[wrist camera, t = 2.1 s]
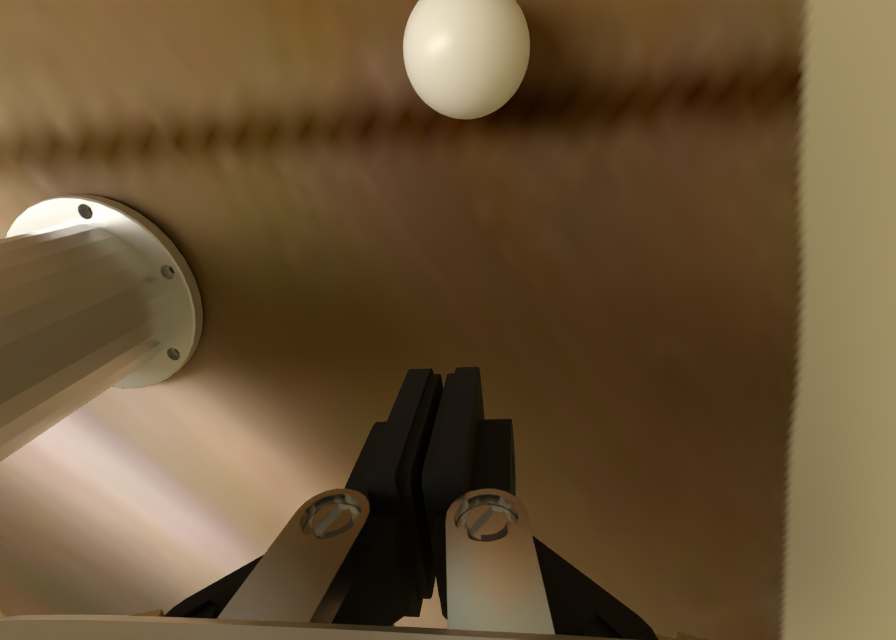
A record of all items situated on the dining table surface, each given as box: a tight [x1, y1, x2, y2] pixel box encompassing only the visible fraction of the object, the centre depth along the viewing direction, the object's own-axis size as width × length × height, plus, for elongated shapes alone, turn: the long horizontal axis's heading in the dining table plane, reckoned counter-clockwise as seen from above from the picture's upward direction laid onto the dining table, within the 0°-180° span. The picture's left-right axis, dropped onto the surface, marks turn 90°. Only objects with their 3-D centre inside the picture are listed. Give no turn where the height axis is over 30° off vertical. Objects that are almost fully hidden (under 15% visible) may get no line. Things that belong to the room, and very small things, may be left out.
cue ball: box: [403, 0, 530, 119], centre depth 22 cm, size 6×6×6 cm
